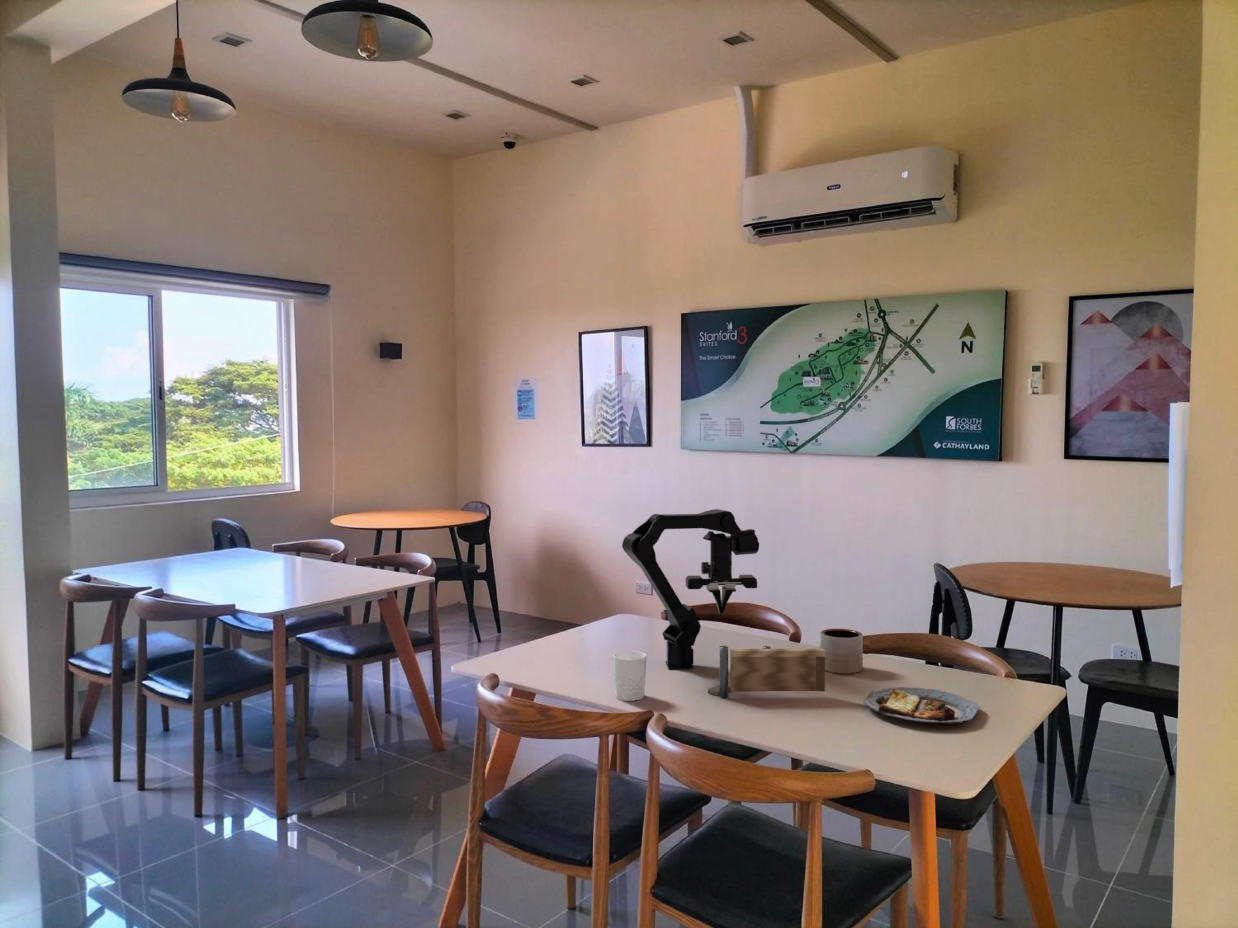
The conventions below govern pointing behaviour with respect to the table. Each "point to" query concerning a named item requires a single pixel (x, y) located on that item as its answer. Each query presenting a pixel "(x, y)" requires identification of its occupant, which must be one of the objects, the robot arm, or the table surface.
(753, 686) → the gate leaf
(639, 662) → the white cup
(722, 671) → the gate frame
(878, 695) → the food plate
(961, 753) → the table surface
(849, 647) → the planter
